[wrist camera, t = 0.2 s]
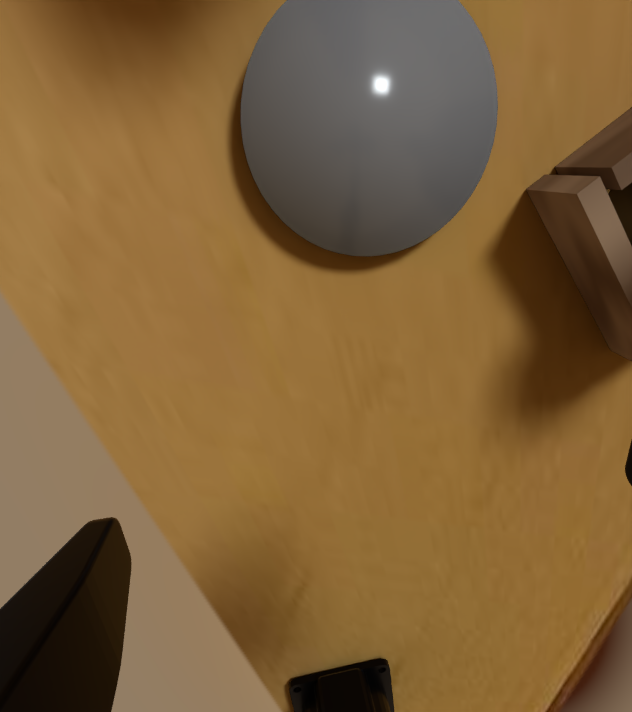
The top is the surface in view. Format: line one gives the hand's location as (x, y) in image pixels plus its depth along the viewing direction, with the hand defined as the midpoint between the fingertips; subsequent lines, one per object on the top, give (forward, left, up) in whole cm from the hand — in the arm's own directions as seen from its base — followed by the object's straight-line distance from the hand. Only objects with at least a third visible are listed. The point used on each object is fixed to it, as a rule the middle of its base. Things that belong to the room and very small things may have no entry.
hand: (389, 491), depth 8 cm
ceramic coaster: (+6, -4, -14) cm, 16 cm away
